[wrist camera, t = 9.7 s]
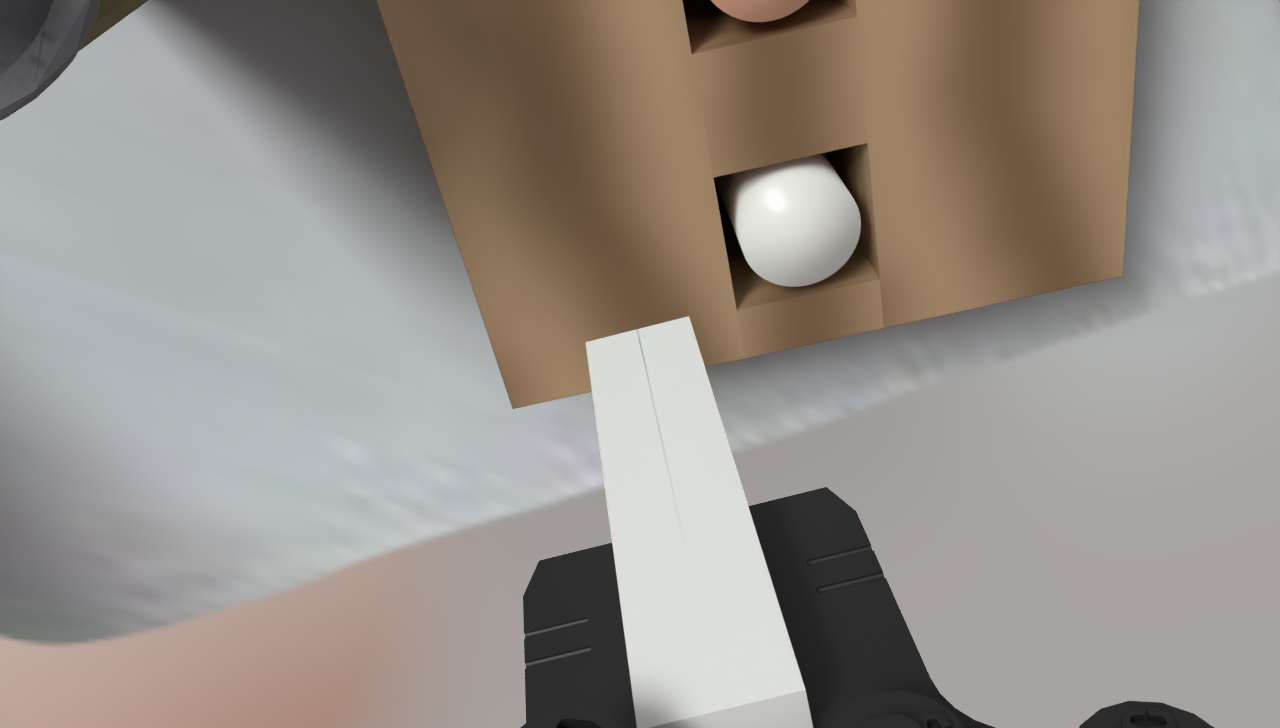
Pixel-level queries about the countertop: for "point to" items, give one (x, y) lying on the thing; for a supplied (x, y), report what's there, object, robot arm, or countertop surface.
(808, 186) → the white glossy ovoid
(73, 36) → the canister
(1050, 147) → the walnut block
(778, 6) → the terracotta plug
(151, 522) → the countertop surface
